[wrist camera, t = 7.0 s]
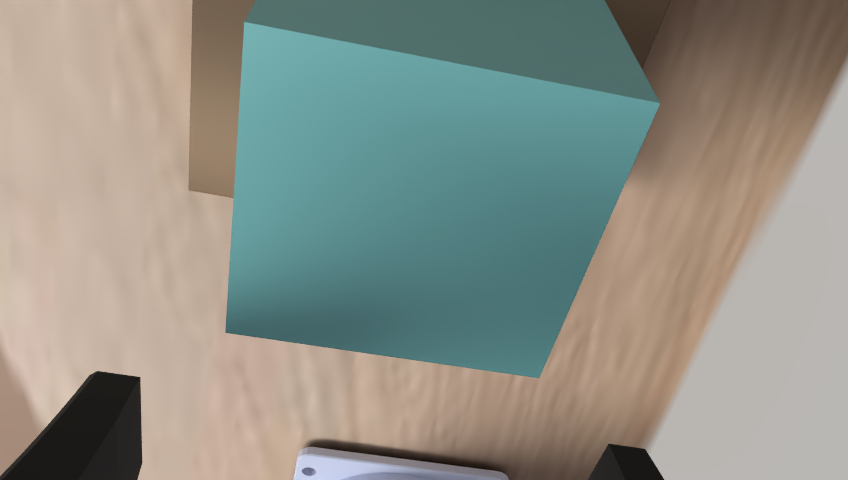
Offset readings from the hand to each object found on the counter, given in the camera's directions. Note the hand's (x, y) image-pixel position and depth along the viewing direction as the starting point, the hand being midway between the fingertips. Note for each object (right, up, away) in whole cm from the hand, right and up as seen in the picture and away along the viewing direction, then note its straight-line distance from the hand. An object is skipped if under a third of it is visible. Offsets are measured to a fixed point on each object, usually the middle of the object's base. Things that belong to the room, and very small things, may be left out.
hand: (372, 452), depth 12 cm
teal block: (+1, +7, +3) cm, 8 cm away
